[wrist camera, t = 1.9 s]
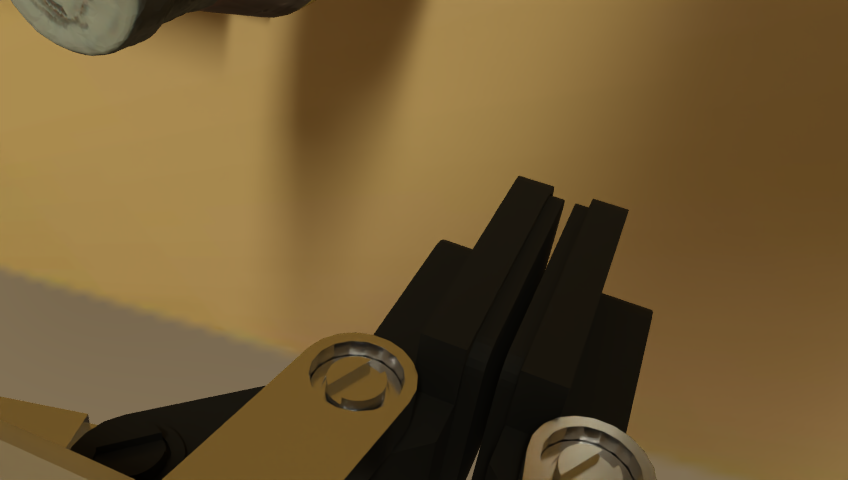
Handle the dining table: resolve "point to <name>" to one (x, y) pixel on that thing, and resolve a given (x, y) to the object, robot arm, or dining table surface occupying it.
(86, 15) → the sauce bottle
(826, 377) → the dining table surface
